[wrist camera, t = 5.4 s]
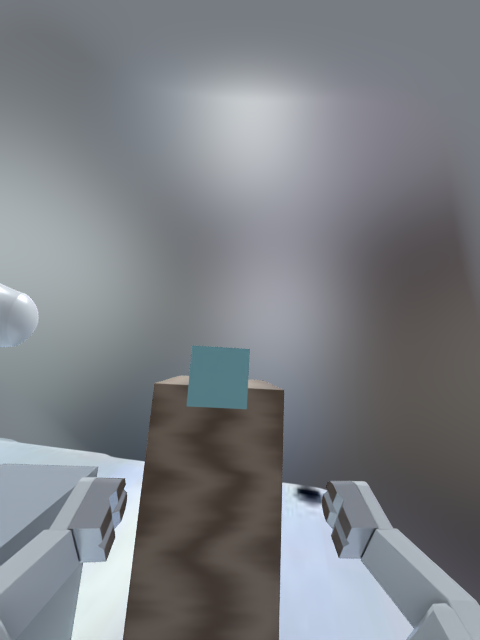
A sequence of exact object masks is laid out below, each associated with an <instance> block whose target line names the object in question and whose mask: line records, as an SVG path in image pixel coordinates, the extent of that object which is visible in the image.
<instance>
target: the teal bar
mask: <svg viewBox="0 0 480 640" xmlns="http://www.w3.org/2000/svg"><path fill="white" fill-rule="evenodd" d="M249 353H250V349H239V348H223V347H206V346H192V354H191V364H190V375H189V385H188V395H187V406H190V407H210V408H231V409H247V395H248V374H249Z"/></svg>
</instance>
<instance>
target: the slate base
mask: <svg viewBox="0 0 480 640" xmlns="http://www.w3.org/2000/svg"><path fill="white" fill-rule="evenodd" d="M97 471H98V467H91V466H60V465H29V464H2V465H0V566H2V565H3V564H4V563H5V562H6V561H7V560H9V559H10V558H11V557H12V556H13V555H15V554H16V553H17V552H18V551H19V550H21V549H22V548H23V547H24V546H25V545H27V544H28V543H29V542H30V541H31V540H33V539H34V538H35V537H36V536H37V535H39V534H40V533H41V532H42V531H43V530H49V529H50V527H51V525H52V524H53V522H54V520H55V519H56V517H57V515H58V514H59V512H60V510H61V509H62V507H63V506H64V504H65V502H66V501H67V499H68V497H69V496H70V494H71V492H72V491H73V489H74V487H75V486H76V484H77V483H78V481H79V480H80V479H81V478H82V477H97ZM82 567H83V563H79V566H78V567H77V568H76V569H75V571H74V572H73V573H72V574H71V575H70V576H69V578H68V579H67V580H66V581H65V582H64V583H63V585H62V586H61V587H60V588H59V589H58V591H57V592H56V593H55V594H54V595H53V596H52V598H51V599H50V600H49V601H48V602H47V603H46V605H45V606H44V607H43V608H42V609H41V610H40V612H39V613H38V614H37V615H36V616H35V617H34V619H33V620H32V621H31V622H30V623H29V624H28V626H27V627H26V628H25V629H24V630H23V631H22V633H21V634H20V635H19V636H18V637H17V639H16V640H71V636H72V630H73V624H74V617H75V611H76V605H77V598H78V592H79V586H80V579H81V573H82Z"/></svg>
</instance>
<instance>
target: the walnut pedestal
mask: <svg viewBox="0 0 480 640" xmlns="http://www.w3.org/2000/svg"><path fill="white" fill-rule="evenodd" d="M188 385H189V376H177V377H174V378H171V379H167V380H164V381H160V382H157V383H155V384H154V392H153V400H152V408H151V416H150V425H149V432H148V441H147V449H146V457H145V465H144V473H143V481H142V489H141V497H140V506H139V514H138V522H137V530H136V538H135V546H134V554H133V562H132V570H131V579H130V587H129V595H128V603H127V611H126V619H125V627H124V635H123V640H279V606H280V558H281V511H282V464H283V463H282V462H283V415H284V412H283V411H284V390H283V389H281V388H278V387H276V386H274V385H272V384H270V383H268V382H266V381H263V380H249V379H248V395H247V409H231V408H210V407H190V406H187V395H188Z"/></svg>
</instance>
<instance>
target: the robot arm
mask: <svg viewBox="0 0 480 640" xmlns="http://www.w3.org/2000/svg"><path fill="white" fill-rule="evenodd" d="M38 320H39V314H38V309H37V307H36V305H35V303H34V302H33V300H32V299H31V298H30V297H29V296H28V295H27V294H25V293H22V292H19V291H16V290H14V289H12V288H10V287H7V286H5V285H3V284H1V283H0V347H11V346H17V345H19V344H21V343H23V342H24V341H25V340H27V339H28V338H29V337H30V336H31V335H32V334H33V332H34V331H35V329H36V327H37V324H38ZM125 485H126V483H125V478H97V477H82V478H81V479H80V480H79V481H78V483H77V484H76V486H75V487H74V489H73V491H72V492H71V494H70V496H69V497H68V499H67V501H66V502H65V504H64V506H63V507H62V509H61V510H60V512H59V514H58V515H57V517H56V519H55V520H54V522H53V524H52V525H51V527H50V529H49V530H43V531H42V532H41V533H40V534H39V535H37V536H36V537H35V538H34V539H33V540H31V541H30V542H29V543H28V544H27V545H25V546H24V547H23V548H22V549H21V550H19V551H18V552H17V553H16V554H15V555H13V556H12V557H11V558H10V559H9V560H7V561H6V562H5V563H4V564H3V565H2V566H0V640H16V639H17V637H18V636H19V635H20V634H21V633H22V631H23V630H24V629H25V628H26V627H27V626H28V624H29V623H30V622H31V621H32V620H33V619H34V617H35V616H36V615H37V614H38V613H39V612H40V610H41V609H42V608H43V607H44V606H45V605H46V603H47V602H48V601H49V600H50V599H51V598H52V596H53V595H54V594H55V593H56V592H57V591H58V589H59V588H60V587H61V586H62V585H63V583H64V582H65V581H66V580H67V579H68V578H69V576H70V575H71V574H72V573H73V572H74V571H75V569H76V568H77V567H78V566H79V563H83V562H104V561H106V560H107V558H108V555H109V552H110V550H111V547H112V544H113V542H114V539H115V532H114V529H115V528H116V526H117V525H118V524H119V523H120V522H121V520H122V517H123V514H124V511H125V507H126V503H127V492H126V491H125V490H124V487H125ZM326 488H327V492H326V493H324V494H323V498H322V508H323V513H324V516H325V519H326V522H327V523H328V524H329V525H330V527H331V528H332V534H331V537H332V540H333V543H334V545H335V548H336V551H337V554H338V557H339V558H351V559H361V561H362V562H363V564H364V565H365V566H366V567H367V569H368V570H369V571H370V573H371V574H372V575H373V576H374V578H375V579H376V580H377V582H378V583H379V584H380V585H381V587H382V588H383V589H384V591H385V592H386V593H387V594H388V596H389V597H390V598H391V599H392V601H393V602H394V603H395V605H396V606H397V607H398V608H399V610H400V611H401V612H402V614H403V615H404V616H405V617H406V619H407V620H408V621H409V623H410V624H411V625H412V626H413V628H414V630H413V631H412V633H411V634H410V635H409V637H408V638H407V639H406V640H480V606H479V604H478V603H477V601H476V600H475V599H474V598H472V597H471V596H470V595H469V594H468V593H467V592H466V591H465V590H464V589H462V588H461V587H460V586H459V585H458V584H457V583H456V582H455V581H454V580H453V579H452V578H450V577H449V576H448V575H447V574H446V573H445V572H444V571H443V570H442V569H440V568H439V567H438V566H437V565H436V564H435V563H434V562H433V561H432V560H431V559H430V558H428V557H427V556H426V555H425V554H424V553H423V552H422V551H421V550H420V549H418V548H417V547H416V546H415V545H414V544H413V543H412V542H411V541H410V540H409V539H408V538H406V537H405V536H404V535H403V534H402V533H401V532H400V531H399V530H398V529H393V527H392V526H391V524H390V522H389V521H388V519H387V517H386V515H385V514H384V512H383V510H382V508H381V507H380V505H379V503H378V501H377V499H376V498H375V496H374V494H373V493H372V491H371V489H370V487H369V486H368V484H367V483H366V482H363V481H329V482H328V483H327V485H326Z"/></svg>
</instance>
